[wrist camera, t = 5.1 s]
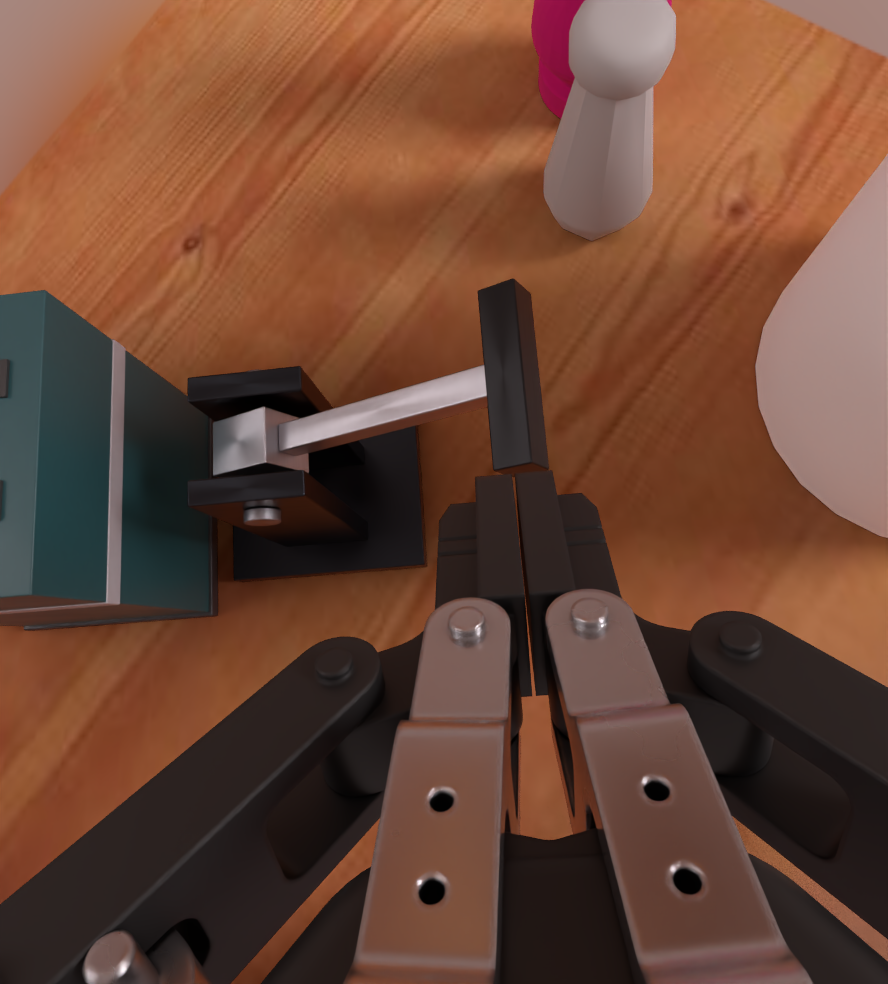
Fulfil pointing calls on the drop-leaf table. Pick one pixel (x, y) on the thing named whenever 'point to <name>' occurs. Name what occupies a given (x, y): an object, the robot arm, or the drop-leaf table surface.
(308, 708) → the robot arm
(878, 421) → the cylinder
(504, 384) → the lever
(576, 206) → the salt shaker
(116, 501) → the toaster
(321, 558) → the bracket
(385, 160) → the drop-leaf table surface
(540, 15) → the pepper mill
